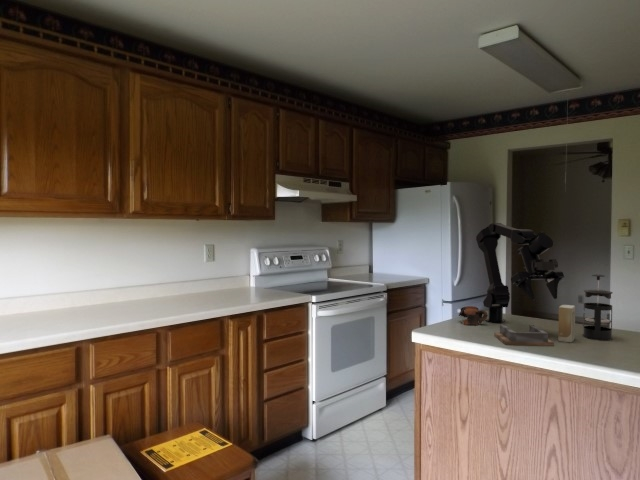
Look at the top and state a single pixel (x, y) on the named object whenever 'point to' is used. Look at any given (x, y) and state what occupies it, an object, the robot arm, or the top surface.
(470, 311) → the pottery mug
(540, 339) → the rail holder
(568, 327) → the skincare box
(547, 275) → the robot arm
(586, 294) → the french press
